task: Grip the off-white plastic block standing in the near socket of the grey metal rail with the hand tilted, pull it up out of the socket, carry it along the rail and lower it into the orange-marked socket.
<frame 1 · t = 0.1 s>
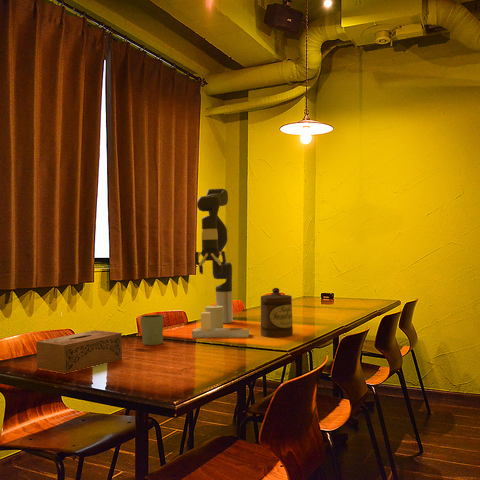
hand: (210, 273, 223), 29 cm above the table, tool pointing down, fingers open, 8 cm apart
tissue box cover: (81, 365, 172), on the table
rail: (220, 336, 224), on the table
can: (214, 329, 243), on the table
grey green cup: (152, 343, 210), on the table
wooden container: (276, 335, 224), on the table
block: (206, 336, 225), resting in rail
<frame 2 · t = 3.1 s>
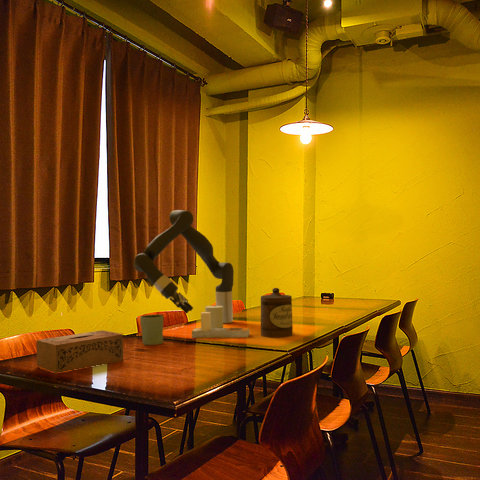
hand: (190, 310, 226), 12 cm above the table, tool tilted 45°, fingers open, 8 cm apart
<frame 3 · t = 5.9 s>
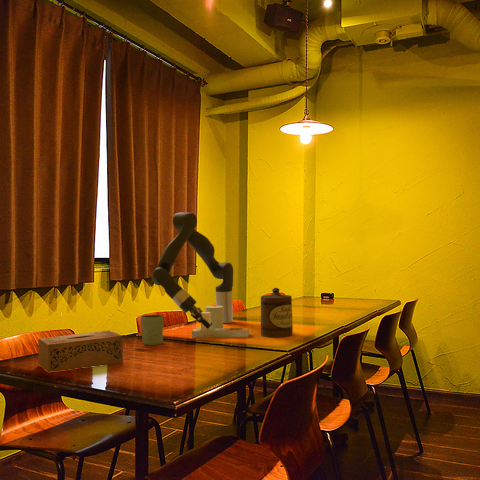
hand: (210, 326, 224), 5 cm above the table, tool tilted 45°, fingers closed on block, 4 cm apart
block: (206, 336, 225), resting in rail, touching gripper
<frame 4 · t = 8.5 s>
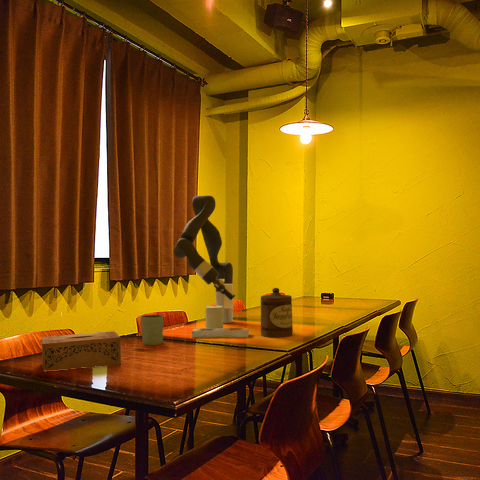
hand: (233, 297, 224), 18 cm above the table, tool tilted 45°, fingers closed on block, 4 cm apart
block: (229, 307, 224), point 13 cm above the table, touching gripper
when the fingers open (6 cm above the table, at t = 11.4 s): block drops 1 cm, resting in rail.
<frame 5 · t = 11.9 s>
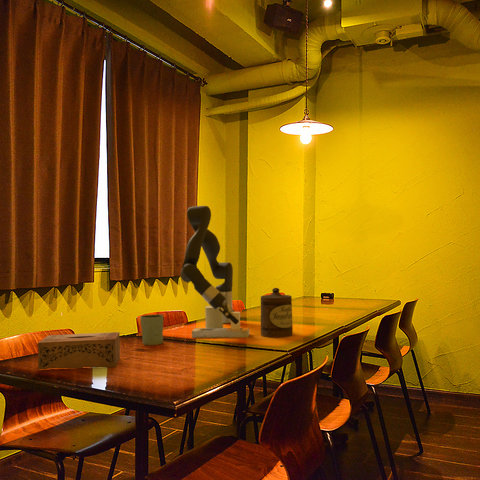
hand: (238, 321, 223), 7 cm above the table, tool tilted 45°, fingers open, 8 cm apart
block: (235, 336, 223), resting in rail
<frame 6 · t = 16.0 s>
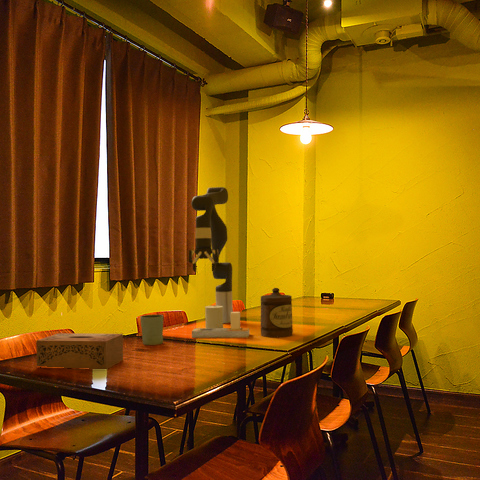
hand: (204, 271, 228), 30 cm above the table, tool pointing down, fingers open, 8 cm apart
at the end: block 0.1 cm from the target spot on the rail, point 0.0 cm above the rail's base; block tilted 0°; the gripper is holding nothing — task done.
